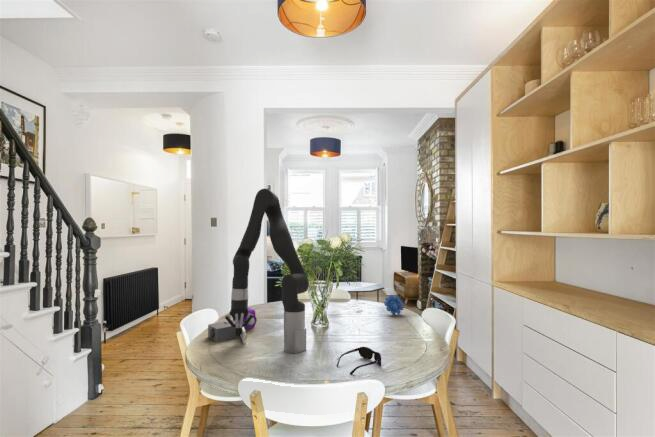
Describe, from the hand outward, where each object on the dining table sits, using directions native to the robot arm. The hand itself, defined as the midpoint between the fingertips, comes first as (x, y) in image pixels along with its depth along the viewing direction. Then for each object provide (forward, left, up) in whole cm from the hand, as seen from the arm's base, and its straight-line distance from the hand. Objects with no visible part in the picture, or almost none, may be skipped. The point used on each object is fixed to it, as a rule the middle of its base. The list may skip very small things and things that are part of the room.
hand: (238, 335), depth 160 cm
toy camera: (+20, -15, -4) cm, 25 cm away
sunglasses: (-54, -23, -4) cm, 59 cm away
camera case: (+14, 0, -4) cm, 14 cm away
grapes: (-17, -94, -4) cm, 95 cm away
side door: (+3, -4, -3) cm, 6 cm away
